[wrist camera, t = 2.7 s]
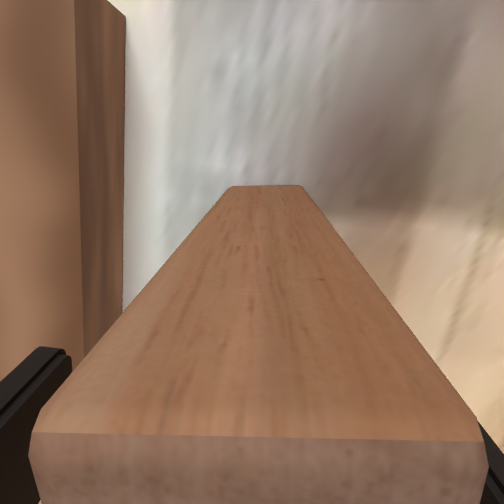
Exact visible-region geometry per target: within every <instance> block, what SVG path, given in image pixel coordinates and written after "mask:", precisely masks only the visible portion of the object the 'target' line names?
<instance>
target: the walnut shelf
mask: <svg viewBox="0 0 504 504" xmlns="http://www.w3.org/2000/svg"><path fill="white" fill-rule="evenodd" d="M124 98H125V16H124V15H123V14H122V13H121V12H120V11H119V10H118V9H116V8H115V7H114V6H113V5H112V4H111V3H110V2H108V1H107V0H0V381H1V380H3V379H4V378H5V377H6V376H7V375H8V374H9V373H10V372H11V371H12V370H13V369H14V368H16V367H17V366H18V365H19V364H20V363H21V362H22V361H23V360H24V359H25V358H26V357H27V356H29V355H30V354H31V353H32V352H33V351H34V350H35V349H36V348H38V347H40V346H45V347H53V348H61V349H64V350H65V352H66V355H69V356H71V359H72V372H73V371H74V370H75V368H76V367H77V366H78V365H79V364H80V362H81V361H82V360H83V359H84V358H85V357H86V355H87V354H88V353H89V352H90V351H91V350H92V348H93V347H94V346H95V345H96V344H97V342H98V341H99V340H100V339H101V338H102V337H103V335H104V334H105V333H106V332H107V331H108V330H109V328H110V327H111V326H112V325H113V324H114V322H115V321H116V320H117V319H118V318H119V317H120V315H121V314H122V275H123V187H124Z"/></svg>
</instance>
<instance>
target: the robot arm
mask: <svg viewBox="0 0 504 504" xmlns="http://www.w3.org/2000/svg"><path fill="white" fill-rule="evenodd" d="M71 373H72V359H71V356H69V355H66V352H65V350H64V349H61V348H53V347H45V346H40V347H38V348H36V349H35V350H34V351H33V352H32V353H31V354H30V355H29V356H27V357H26V358H25V359H24V360H23V361H22V362H21V363H20V364H19V365H18V366H17V367H16V368H14V369H13V370H12V371H11V372H10V373H9V374H8V375H7V376H6V377H5V378H4V379H3V380H1V381H0V504H38V503H39V501H40V500H41V499H40V496H39V492H38V489H37V485H36V482H35V478H34V475H33V471H32V468H31V464H30V460H29V457H28V453H29V447H30V441H31V434H32V430H33V428H34V425H35V423H36V420H37V418H38V415H39V413H40V410H41V408H42V407H43V406H44V405H45V404H46V403H47V401H48V400H49V399H50V398H51V397H52V395H53V394H54V393H55V392H56V391H57V390H58V388H59V387H60V386H61V385H62V384H63V383H64V381H65V380H66V379H67V378H68V377H69V375H70V374H71ZM478 424H479V427H480V430H481V434H482V437H483V440H484V444H485V449H486V455H487V460H488V465H489V468H488V472H487V476H486V480H485V484H484V488H483V492H482V496H481V500H480V504H504V454H503V453H502V452H501V450H500V449H499V448H498V446H497V445H496V444H495V443H494V441H493V440H492V439H491V437H490V436H489V435H488V434H487V432H486V431H485V430H484V428H483V427H482V426H481V425H480V423H479V422H478Z"/></svg>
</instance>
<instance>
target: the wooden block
mask: <svg viewBox="0 0 504 504" xmlns="http://www.w3.org/2000/svg"><path fill="white" fill-rule="evenodd" d="M28 457H29V460H30V464H31V468H32V471H33V475H34V478H35V482H36V485H37V489H38V492H39V496H40V499H41V503H42V504H480V500H481V496H482V492H483V488H484V484H485V480H486V476H487V472H488V468H489V465H488V460H487V455H486V449H485V444H484V440H483V437H482V434H481V430H480V427H479V424H478V421H477V418H476V416H475V415H474V414H473V412H472V411H471V410H470V408H469V407H468V406H467V404H466V403H465V402H464V400H463V399H462V398H461V396H460V395H459V394H458V392H457V391H456V390H455V388H454V387H453V386H452V384H451V383H450V382H449V380H448V379H447V378H446V376H445V375H444V374H443V372H442V371H441V370H440V368H439V367H438V366H437V364H436V363H435V362H434V360H433V359H432V358H431V357H430V355H429V354H428V353H427V351H426V350H425V349H424V347H423V346H422V345H421V343H420V342H419V341H418V339H417V338H416V337H415V335H414V334H413V333H412V331H411V330H410V329H409V327H408V326H407V325H406V323H405V322H404V321H403V319H402V318H401V317H400V315H399V314H398V313H397V311H396V310H395V309H394V307H393V306H392V305H391V303H390V302H389V301H388V299H387V298H386V297H385V296H384V294H383V293H382V292H381V290H380V289H379V288H378V286H377V285H376V284H375V282H374V281H373V280H372V278H371V277H370V276H369V274H368V273H367V272H366V270H365V269H364V268H363V266H362V265H361V264H360V262H359V261H358V260H357V258H356V257H355V256H354V254H353V253H352V252H351V250H350V249H349V248H348V246H347V245H346V244H345V242H344V241H343V240H342V238H341V237H340V236H339V235H338V233H337V232H336V231H335V229H334V228H333V227H332V225H331V224H330V223H329V221H328V220H327V219H326V217H325V216H324V215H323V213H322V212H321V211H320V209H319V208H318V207H317V205H316V204H315V203H314V201H313V200H312V199H311V197H310V196H309V195H308V193H307V192H306V191H305V189H304V188H303V187H301V186H299V185H278V186H232V187H230V188H228V189H227V191H226V192H225V193H224V194H223V195H222V196H221V198H220V199H219V200H218V201H217V202H216V203H215V205H214V206H213V207H212V208H211V209H210V211H209V212H208V213H207V214H206V215H205V216H204V218H203V219H202V220H201V221H200V222H199V223H198V225H197V226H196V227H195V228H194V229H193V231H192V232H191V233H190V234H189V235H188V236H187V238H186V239H185V240H184V241H183V242H182V244H181V245H180V246H179V247H178V248H177V249H176V251H175V252H174V253H173V254H172V255H171V256H170V258H169V259H168V260H167V261H166V262H165V264H164V265H163V266H162V267H161V268H160V269H159V271H158V272H157V273H156V274H155V275H154V277H153V278H152V279H151V280H150V281H149V282H148V284H147V285H146V286H145V287H144V288H143V289H142V291H141V292H140V293H139V294H138V295H137V297H136V298H135V299H134V300H133V301H132V302H131V304H130V305H129V306H128V307H127V308H126V309H125V311H124V312H123V313H122V314H121V315H120V317H119V318H118V319H117V320H116V321H115V322H114V324H113V325H112V326H111V327H110V328H109V330H108V331H107V332H106V333H105V334H104V335H103V337H102V338H101V339H100V340H99V341H98V342H97V344H96V345H95V346H94V347H93V348H92V350H91V351H90V352H89V353H88V354H87V355H86V357H85V358H84V359H83V360H82V361H81V362H80V364H79V365H78V366H77V367H76V368H75V370H74V371H73V372H72V373H71V374H70V375H69V377H68V378H67V379H66V380H65V381H64V383H63V384H62V385H61V386H60V387H59V388H58V390H57V391H56V392H55V393H54V394H53V395H52V397H51V398H50V399H49V400H48V401H47V403H46V404H45V405H44V406H43V407H42V408H41V410H40V413H39V415H38V418H37V420H36V423H35V425H34V428H33V430H32V434H31V441H30V447H29V453H28Z"/></svg>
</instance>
